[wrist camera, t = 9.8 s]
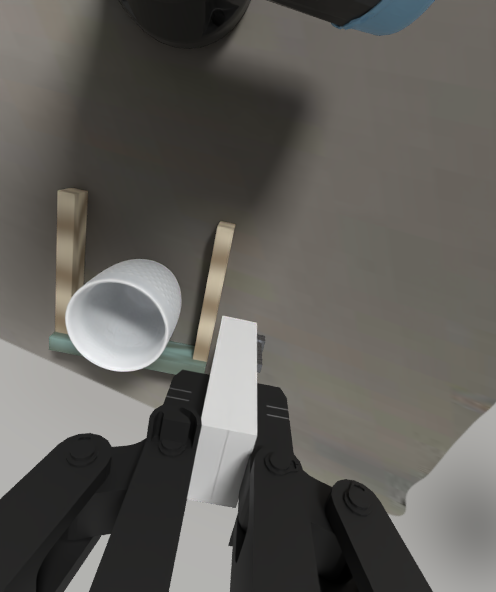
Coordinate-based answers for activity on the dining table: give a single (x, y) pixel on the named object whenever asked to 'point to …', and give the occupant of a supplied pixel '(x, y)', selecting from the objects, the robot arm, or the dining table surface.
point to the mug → (125, 315)
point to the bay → (72, 279)
